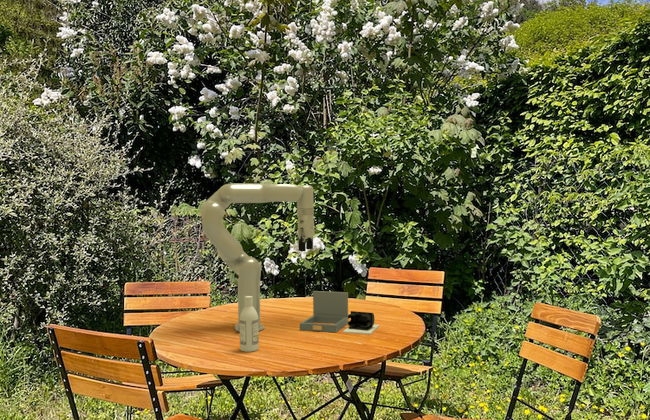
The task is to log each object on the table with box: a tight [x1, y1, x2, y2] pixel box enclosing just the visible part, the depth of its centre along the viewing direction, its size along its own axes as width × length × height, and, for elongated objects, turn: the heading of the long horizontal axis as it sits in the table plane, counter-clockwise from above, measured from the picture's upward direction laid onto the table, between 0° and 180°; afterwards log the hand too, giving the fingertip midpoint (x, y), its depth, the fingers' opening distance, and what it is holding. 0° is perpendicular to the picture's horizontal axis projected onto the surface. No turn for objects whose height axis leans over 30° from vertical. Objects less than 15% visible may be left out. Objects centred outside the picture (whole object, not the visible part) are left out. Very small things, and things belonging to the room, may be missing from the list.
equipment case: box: [299, 290, 349, 333], centre depth 240 cm, size 19×16×14 cm
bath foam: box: [239, 296, 260, 353], centre depth 204 cm, size 7×7×20 cm
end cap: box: [347, 310, 375, 330], centre depth 234 cm, size 10×7×7 cm
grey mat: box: [342, 323, 380, 336], centre depth 234 cm, size 16×12×1 cm
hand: (305, 250), depth 247 cm, fingers open, 9 cm apart
